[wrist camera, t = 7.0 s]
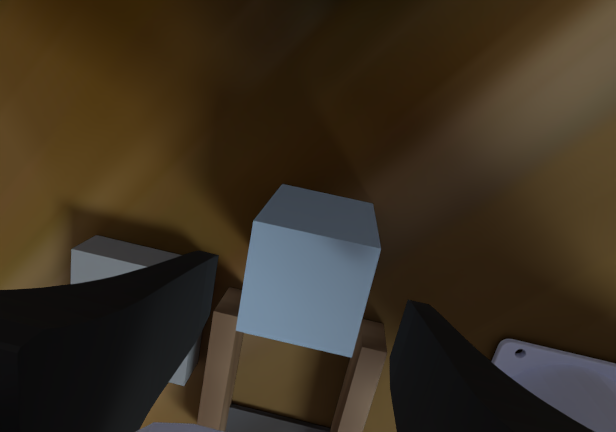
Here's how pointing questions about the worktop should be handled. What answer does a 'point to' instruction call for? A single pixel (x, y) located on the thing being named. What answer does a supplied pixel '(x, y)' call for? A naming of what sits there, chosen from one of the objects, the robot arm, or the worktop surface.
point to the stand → (119, 260)
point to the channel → (269, 427)
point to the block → (309, 270)
